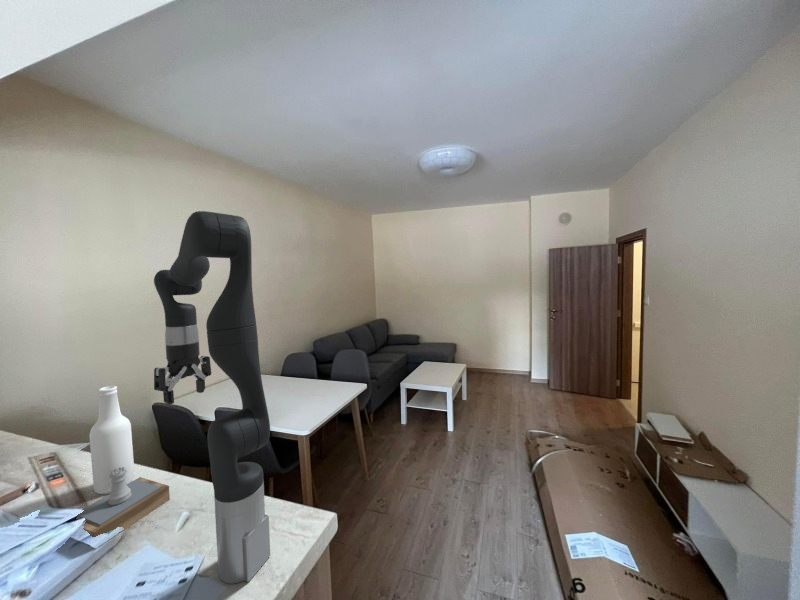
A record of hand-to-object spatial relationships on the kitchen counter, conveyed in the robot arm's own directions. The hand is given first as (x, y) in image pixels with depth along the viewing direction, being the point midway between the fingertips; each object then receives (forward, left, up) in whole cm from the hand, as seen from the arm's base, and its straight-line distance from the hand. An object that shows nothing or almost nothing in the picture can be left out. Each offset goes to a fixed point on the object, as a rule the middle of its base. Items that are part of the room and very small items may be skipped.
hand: (185, 397), depth 83 cm
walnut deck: (+9, +12, -28) cm, 32 cm away
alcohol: (+25, +5, -28) cm, 38 cm away
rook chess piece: (+9, +12, -24) cm, 28 cm away
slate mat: (+9, +12, -24) cm, 28 cm away
